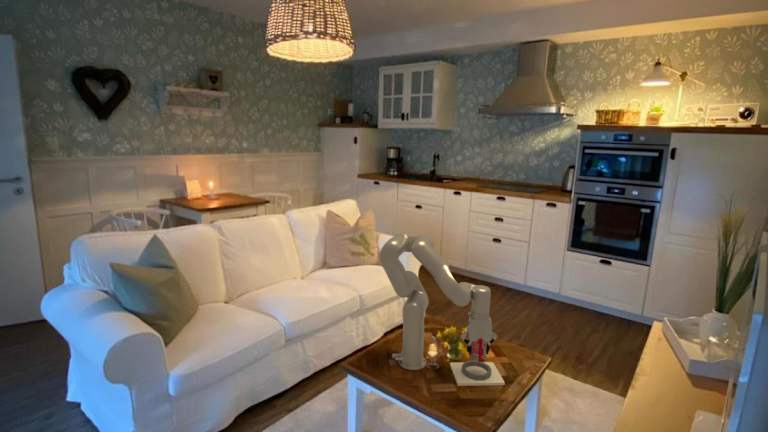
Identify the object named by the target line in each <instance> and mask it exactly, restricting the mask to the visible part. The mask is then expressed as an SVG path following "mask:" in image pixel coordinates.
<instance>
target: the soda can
mask: <svg viewBox="0 0 768 432" xmlns="http://www.w3.org/2000/svg"><path fill="white" fill-rule="evenodd" d="M479 338H480V339H478V340H476V341H475V342H472V343H471V346H472V349H471V355H469V358H470V361H474V362H477V363H480V362H484V361H485V362H486V358H487V354H486V349H487V341H485V340H484V339H482V337H479Z"/></svg>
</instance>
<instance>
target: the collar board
mask: <svg viewBox="0 0 768 432" xmlns="http://www.w3.org/2000/svg"><path fill="white" fill-rule="evenodd" d="M449 366H450V370H451V372H452V374H453V378H454V380H455V382H456V384H457V386H458V387H460V386H461V387H463V386H469V387H470V386H472V387H474V386H476V387H477V386H479V387H480V386H482V387H483V386H505V381H504V378H503V376H502V375H501V373H500V372H499V370H498V369H497V367H496V365H495V363H494V362H493V361H485V362H484V361H483V362H480V363H477V362H474V361H472V360H467V361H463V362H449Z"/></svg>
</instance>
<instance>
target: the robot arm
mask: <svg viewBox="0 0 768 432" xmlns="http://www.w3.org/2000/svg"><path fill="white" fill-rule="evenodd" d="M434 244H435V243H434V241H433V240H432V239H431V237H428V236H426V235H423V234H422V235H421V234H409V233H408V234H407V233H397V234H395V235H394V236H392V237H391V238H389V239H388V240H387V241H386V242H385V243H384V244H383V246H382V248H380V251H379V263H380V264H381V266H382V268H383V270H384V272H385V274H386V276H387V278H388V280H389V282H390V284H391V286H392V288H393V291H394V293H396V295H397V296H398V297H399V298H403V299H404V298H407V299H406V301H405V302H404V304H403V307H402V350H401V352H399V353H392V355H391V358H392V359H394V360H395V361H398V365H400V367H402V368H403V369H405V370H410V371H418V370H422V369H424V368H425V367H426V365H427V360H426V358H425V357H424V343H425V342H424V341H425V313H426V310H427V308H428V306H429V302H430V301H429V296H428V294H427V292H426V289H425V288H424V286H423V285H422V282H421V280H420V278H419V277H418V275H417V274H416V273H415V272H413V271H411V270H406V268H405V266H404V264H403V263H402V262H401V260H400V257H401V255H403V253H411V254H412V255H413V257H414V258H415V259H416V260H417V261H418V262H419V263H420V264H421V266H423V267H424V268H425V269H426V271H428V272H429V273H430V275H432V276H433V279H434V281H435V282H436V284H437V285H438V288H439V289H440V291H441V292H442V293H443V294H444V295H445V296H446V297H447V298H448V299H449V300H450V301H451V302H452V303H453V304H454V305H456V306H458V307H462V308H463V307H466V306H467V305H469V304H470V303H471V309H470V311H468V312H467V315H468V316H469V318H468V322H467V327H466V331H464V332H463V333H462V334H460V338H461V339H462V341H463V342H464V343H465V344H466V352H467V353H468V354H469V355H468V356H470V355H471V349H472V346H471V343H472V342H475V341H476V340H478V339H480V338H479V337H482V339H484V340H485V341H487V349H486V355H489V353H490V350H491V349H490V348H491V347H490V346H492V344H493V343H494V342H495V341H496V340H497V338H498V335H497V334H496V333H495V332H494V331H493V325H492V324H493V322H492V318H491V316H490V310H491V309H490V308H491V294H492V293H491V288H490V287H489V286H486V285H481V284H478V285H477V284H474V283H470V282H466V281H461V282H459V283H458V281H456V279H455V278H454V276H453V274H452V272H451V269H450V266H449V263H448V261H447V260H446V259H444V257H443V256H442V255H441V254H440V253H439V252H438V251H437V250H436V249H434ZM466 337H467V338H466Z"/></svg>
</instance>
